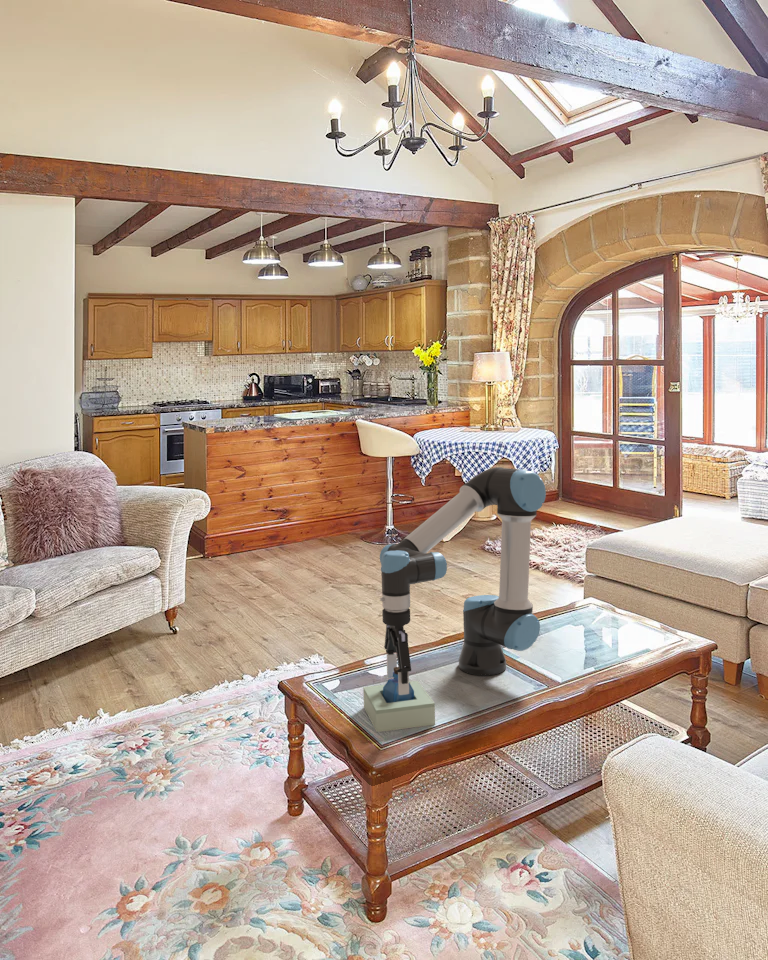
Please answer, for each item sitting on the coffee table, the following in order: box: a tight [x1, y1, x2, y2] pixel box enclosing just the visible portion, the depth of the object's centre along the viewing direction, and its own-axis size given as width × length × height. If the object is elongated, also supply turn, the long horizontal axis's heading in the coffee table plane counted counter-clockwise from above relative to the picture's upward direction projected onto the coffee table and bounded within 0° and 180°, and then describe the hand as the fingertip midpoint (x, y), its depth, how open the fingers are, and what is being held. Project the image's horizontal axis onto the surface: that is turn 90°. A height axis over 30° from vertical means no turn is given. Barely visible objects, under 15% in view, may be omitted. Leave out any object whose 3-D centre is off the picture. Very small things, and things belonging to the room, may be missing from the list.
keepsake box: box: [362, 680, 436, 733], centre depth 207 cm, size 16×16×6 cm
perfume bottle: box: [383, 666, 414, 703], centre depth 207 cm, size 6×6×12 cm
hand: (397, 685), depth 206 cm, fingers open, 12 cm apart
